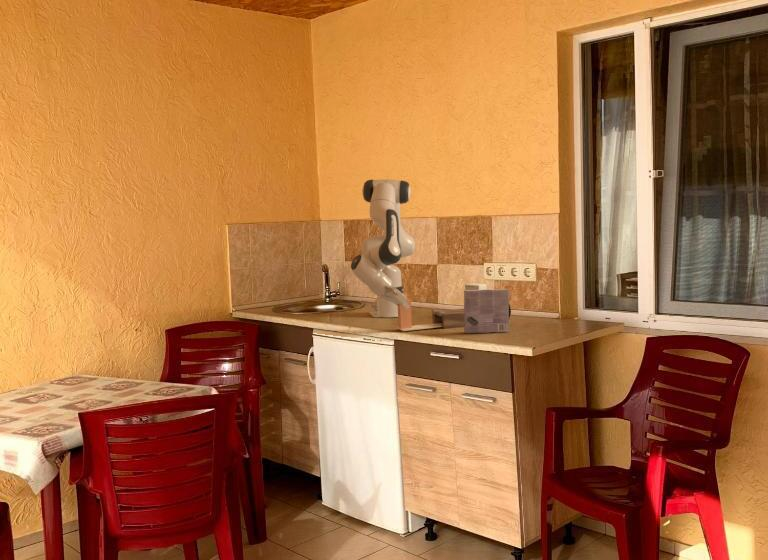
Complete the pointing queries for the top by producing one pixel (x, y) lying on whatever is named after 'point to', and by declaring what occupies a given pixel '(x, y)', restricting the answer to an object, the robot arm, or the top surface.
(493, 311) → the cake pan box
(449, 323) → the walnut dispenser
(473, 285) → the skincare box
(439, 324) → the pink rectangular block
